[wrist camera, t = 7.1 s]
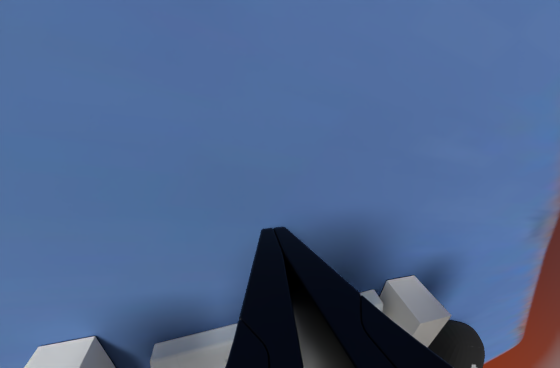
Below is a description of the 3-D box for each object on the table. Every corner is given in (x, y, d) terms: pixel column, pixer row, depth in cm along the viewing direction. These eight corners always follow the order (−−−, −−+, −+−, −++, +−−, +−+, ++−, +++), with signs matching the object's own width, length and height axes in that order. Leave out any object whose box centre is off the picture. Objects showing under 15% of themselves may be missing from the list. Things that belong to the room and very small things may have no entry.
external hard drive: (349, 344, 17) (191, 392, 15) (368, 280, 13) (156, 331, 11) (360, 369, 16) (188, 426, 13) (385, 305, 12) (147, 370, 9)
